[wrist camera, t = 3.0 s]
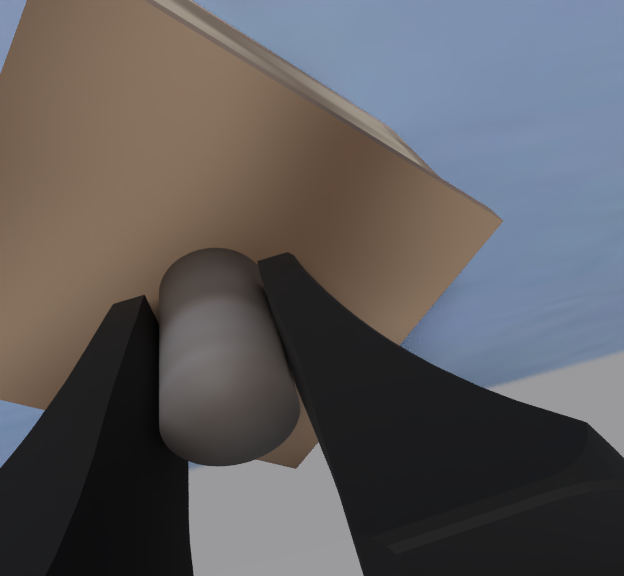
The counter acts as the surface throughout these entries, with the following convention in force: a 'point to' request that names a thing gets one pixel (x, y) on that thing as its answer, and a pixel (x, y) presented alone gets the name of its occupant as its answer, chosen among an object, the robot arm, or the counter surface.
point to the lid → (197, 219)
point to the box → (289, 74)
